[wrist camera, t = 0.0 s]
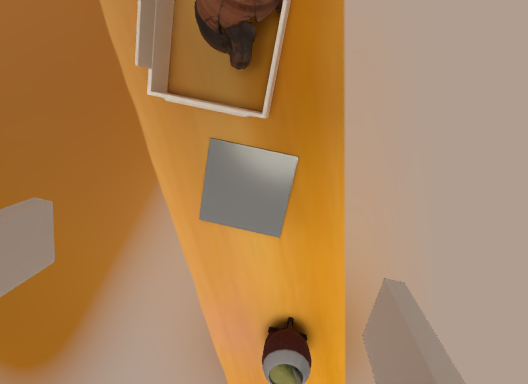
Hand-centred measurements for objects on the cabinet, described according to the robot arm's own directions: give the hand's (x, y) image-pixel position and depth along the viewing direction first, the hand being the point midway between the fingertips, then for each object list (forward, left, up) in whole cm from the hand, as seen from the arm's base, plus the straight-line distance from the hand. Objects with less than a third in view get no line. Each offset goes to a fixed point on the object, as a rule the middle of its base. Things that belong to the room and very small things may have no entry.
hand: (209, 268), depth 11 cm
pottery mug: (-12, -7, -29) cm, 32 cm away
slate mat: (+6, -2, -28) cm, 29 cm away
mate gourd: (+28, +9, -28) cm, 41 cm away
